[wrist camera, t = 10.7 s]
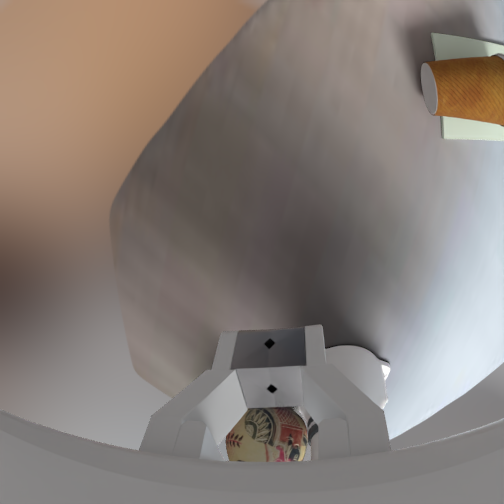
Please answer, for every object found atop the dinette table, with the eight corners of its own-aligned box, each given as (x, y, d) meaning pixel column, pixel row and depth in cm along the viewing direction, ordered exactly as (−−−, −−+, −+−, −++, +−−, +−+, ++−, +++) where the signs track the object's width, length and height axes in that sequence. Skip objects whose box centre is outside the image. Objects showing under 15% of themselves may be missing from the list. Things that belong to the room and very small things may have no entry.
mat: (525, 142, 31) (527, 143, 30) (442, 138, 33) (444, 138, 33) (518, 50, 24) (521, 50, 24) (430, 33, 27) (432, 32, 26)
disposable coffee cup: (429, 138, 32) (507, 137, 29) (448, 114, 24) (540, 118, 20) (412, 70, 32) (489, 72, 28) (423, 33, 23) (513, 41, 19)
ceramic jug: (323, 409, 58) (323, 545, 32) (268, 432, 64) (253, 551, 38) (266, 369, 54) (246, 532, 27) (211, 398, 60) (177, 532, 33)
